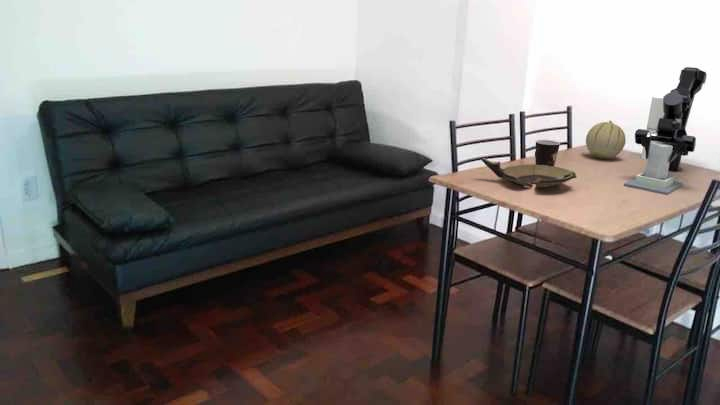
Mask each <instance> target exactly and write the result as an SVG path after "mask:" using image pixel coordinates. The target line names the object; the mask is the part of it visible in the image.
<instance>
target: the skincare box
mask: <svg viewBox="0 0 720 405" xmlns="http://www.w3.org/2000/svg"><path fill="white" fill-rule="evenodd" d="M672 149H673V146H671V145H667V144H663V143H660V142H658V143H650V149H649V154H648V159H647V160H646V165H645V170H644V171H645V175H644V176H645V177H649V178H654V179H659V180H666V179H667V175H669V174H668V172H669V170H668V169H669V164H670V163H669V160H670V157H671V154H672Z"/></svg>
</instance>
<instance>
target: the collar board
mask: <svg viewBox="0 0 720 405" xmlns="http://www.w3.org/2000/svg"><path fill="white" fill-rule="evenodd" d="M644 175H645V170H644V171H642V172H640V173H639V174H637V175H636V177H634V178H632V179H630V180H628V181H626V182H624V183H623V186H624V187H628V188H633V189H638V190H642V191H648V192H651V193H656V194H661V195H667V196H668V195H669V194H671V193H672V192H674V191H676V190H677V189H679V188H680V187H681V186H683V185H684V182H683V181H679V180H678V181H677V180H675V176H674V175H669V174H667V179H666V180H659V179H654V178H649V177H645V176H644Z"/></svg>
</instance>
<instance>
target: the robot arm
mask: <svg viewBox="0 0 720 405" xmlns="http://www.w3.org/2000/svg"><path fill="white" fill-rule="evenodd" d="M707 76H708V74H707V72H706V71H704V70H701V69H700V68H698V67H689V66H688V67H687V66H686V67H684V68H683V69H681V70H680V75H679V79H678V80H679V82H678V84H677V86H676V88H674V89H672V90H670V92H668V93H666V94H665V95H664V96H663V111H664V116H663V118H659V122H658V126H657V131H656V133H657V135H652V134H650V133H649V130H646V129H643V128H638V129H636V131H635V133H634V142H635V144H636V145H641V147H642V148H643V147H645V151H646V159H647V158H648V154H649V149H650V142H651V141H658V142H662V143H663V144H667V145H671V146H673V149H672V154H671V157H670V160H669V163H670V164H669V169H668V171H672V172H678V171H681V170H682V169H683V167H680V165H681V161H682V156H683V157H684V156H688V155H689V152H690V153H693V152H694V151H695V148H696V143H697V137H696V136H695V135H694V136H693V135H688V134H687V131H686V128H687V125H688V122H689V121H688V120H689V117H690V114H691V111H692V107H693V103H694V99H695V95H697V94H698V93H699V92H700V91H701V90H702V88H703V85H705V84H706V81H707Z"/></svg>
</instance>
